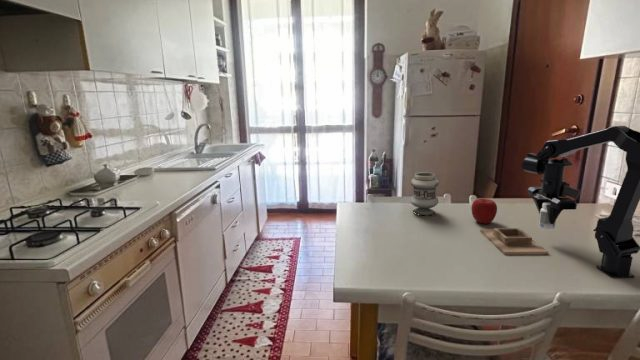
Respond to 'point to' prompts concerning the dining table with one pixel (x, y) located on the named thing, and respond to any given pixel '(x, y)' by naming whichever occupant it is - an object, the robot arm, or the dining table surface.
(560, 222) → the dining table surface
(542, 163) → the robot arm
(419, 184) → the apothecary jar
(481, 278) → the dining table surface
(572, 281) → the dining table surface
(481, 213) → the apple
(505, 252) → the wooden tray with holder
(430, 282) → the dining table surface
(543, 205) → the pill bottle
